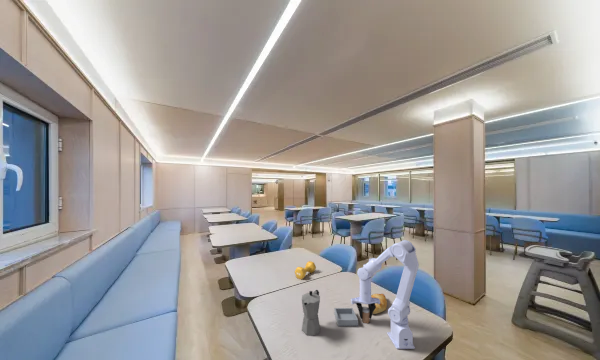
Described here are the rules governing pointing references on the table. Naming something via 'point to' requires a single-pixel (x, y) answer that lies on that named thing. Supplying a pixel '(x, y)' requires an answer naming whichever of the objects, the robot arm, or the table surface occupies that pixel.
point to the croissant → (382, 304)
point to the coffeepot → (311, 313)
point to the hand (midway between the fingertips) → (365, 317)
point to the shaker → (365, 315)
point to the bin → (345, 317)
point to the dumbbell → (305, 270)
